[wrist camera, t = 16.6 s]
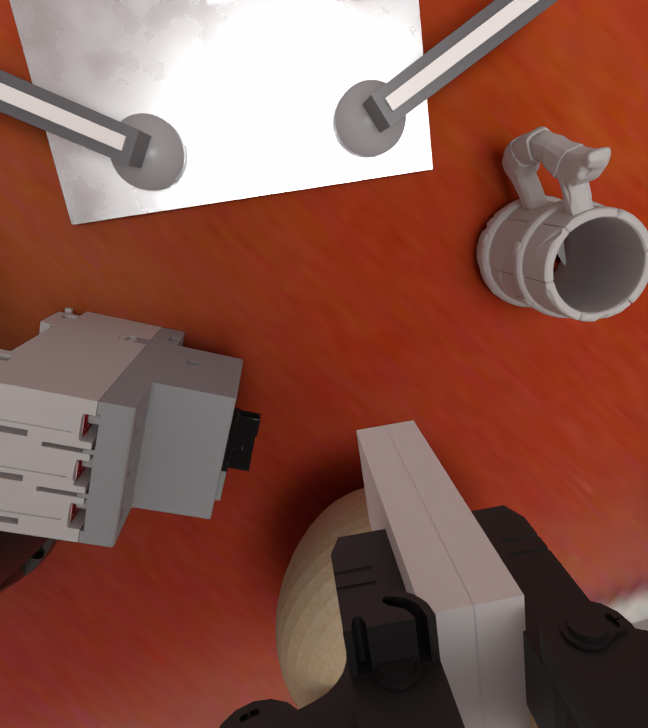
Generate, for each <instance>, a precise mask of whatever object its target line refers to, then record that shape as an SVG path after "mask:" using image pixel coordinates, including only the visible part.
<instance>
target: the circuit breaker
mask: <svg viewBox="0 0 648 728" xmlns="http://www.w3.org/2000/svg"><path fill="white" fill-rule="evenodd" d="M73 310H74V308H69V307H67V308H65V313H63V312H57V313H55V314H53V315H52V316H50V317H48V318H46V319H44V320H42V321H41V322H40V332H39V335H37V336H36V337H34V338H32V339H31V340H29V341H27V342H25V343H24V344H22V345H20V346H19V347H17V348H15V349H13V350H12V351H8V350H2V349H0V531H5V532H12V533H19V534H25V535H32V536H39V537H45V538H52V539H59V540H66V541H72V542H78V541H79V543H86V544H92V545H99V546H106V547H113V546H114V544H115V542H116V540H117V538H118V536H119V533H120V531H121V529H122V527H123V525H124V523H125V520H126V518H127V516H128V514H129V512H130V509H131V508H133V507H135V508H141V509H148V510H154V511H161V512H167V513H174V514H180V515H186V516H193V517H199V518H206V519H210V518H211V515H212V510H213V506H214V501H215V500H220V498H221V494H222V489H223V485H224V480H225V476H226V472H227V469H228V468H234V469H239V470H245V471H249V467H250V461H251V455H252V450H253V445H254V440H255V437H257V433H258V428H259V424H260V415H261V414H258V413H253V412H248V411H243V410H240V409H238V408H234V407H235V403H236V398H237V393H238V388H239V382H240V376H241V371H242V365H243V359H239V358H234V357H230V356H225V355H220V354H215V353H211V352H206V351H201V350H196V349H192V348H187V347H183V341H184V336H185V332H182V331H178V330H173V329H168V328H163V327H159V326H154V325H149V324H144V323H140V322H135V321H130V320H126V319H121V318H116V317H111V316H107V315H102V314H97V313H92V312H88V311H87V312H85V313H83V314H82V315H76V314H73ZM223 471H225V472H223Z"/></svg>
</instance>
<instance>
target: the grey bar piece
mask: <svg viewBox="0 0 648 728" xmlns="http://www.w3.org/2000/svg"><path fill="white" fill-rule="evenodd" d="M0 112H2V113H4V114H7V115H9V116H11V117H14V118H16V119H19V120H21V121H23V122H26V123H28V124H31V125H33V126H35V127H38V128H40V129H42V130H45V131H47V132H50V133H52V134H54V135H57V136H59V137H62V138H64V139H66V140H69V141H71V142H74V143H76V144H78V145H81V146H83V147H86V148H88V149H90V150H93V151H95V152H97V153H100V154H102V155H105V156H107V157H109V158H111V162H112V164H113V167H114V168H115V170H116V172H117V173H118V174H119V176H120V177H121V178H122V179H123V180H125V181H126V182H127V183H129V184H130V185H132V186H134V187H136V188H139V189H143V190H160V189H164V188H167V187H169V186H170V185H172V184H173V183H174V182H175V181H176V180H177V179H178V178H179V177H180V175H181V174H182V172H183V169H184V166H185V160H186V153H185V147H184V144H183V141H182V139H181V137H180V135H179V134H178V132H177V131H176V130H175V129H174V127H172V126H171V125H170V124H169V123H167V122H166V121H165V120H163V119H162V118H160V117H158V116H155V115H152V114H147V113H138V114H133V115H130V116H128V117H126V118H124V119H123V120H122V121H117V120H115V119H113V118H110V117H108V116H106V115H103V114H101V113H99V112H97V111H94V110H92V109H90V108H87V107H85V106H83V105H80V104H78V103H76V102H73V101H71V100H69V99H66V98H64V97H62V96H60V95H57V94H55V93H53V92H50V91H48V90H46V89H43V88H41V87H39V86H36V85H34V84H32V83H29V82H27V81H25V80H23V79H20V78H18V77H16V76H13V75H11V74H9V73H6V72H4V71H2V70H0Z"/></svg>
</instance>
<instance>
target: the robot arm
mask: <svg viewBox="0 0 648 728" xmlns="http://www.w3.org/2000/svg"><path fill="white" fill-rule="evenodd" d="M356 431H357V439H358V446H359V453H360V460H361V467H362V474H363V481H364V488H365V495H366V502H367V509H368V516H369V522H370V526H371V529H372V531H370V532H365V533H359V534H354V535H348V536H343V537H338V539H337V541H336V543H335V546H334V548H333V550H332V553H331V560H332V566H333V572H334V578H335V585H336V591H337V597H338V603H339V609H340V615H341V621H342V627H343V637H344V643H345V649H346V664H345V667H344V671H343V673H342V675H341V676H340V678H339V680H338V681H337V683H336V684H335V685H334V686H333V687H332V688H331V689H330V690H329V691H328V692H327V693H326V694H324V695H323V696H321V697H320V698H319V699H317V700H316V701H314V702H312V703H310V704H308V705H306V706H304V707H302V708H300V709H299V710H297V709H296V708H294V707H293V706H292V705H290V704H289V703H288V702H283V701H278V700H274V699H267V700H261V701H255V702H252V703H250V704H248V705H246V706H244V707H242V708H240V709H238V710H236V711H235V712H234V713H233V714H232V715H231V716H229V717H228V718H227V719H226V720H225V721H224V722H223V723H222V724H221V726H220V727H219V728H530V712H531V714H532V716H533V718H534V720H535V722H536V724H537V726H538V728H648V631H646V630H640V629H637V628H635V627H634V626H633V625H632V624H631V623H630V622H629V621H628V620H627V619H625V618H624V617H623V616H622V615H621V614H620V613H619V612H617V611H615V610H613V609H611V608H609V607H607V606H605V605H603V604H601V603H596V602H592V601H590V600H589V599H588V598H587V596H586V595H585V594H584V593H583V591H582V590H581V589H580V588H579V586H578V585H577V584H576V582H575V581H574V580H573V579H572V577H571V576H570V575H569V574H568V572H567V571H566V570H565V568H564V567H563V566H562V565H561V563H560V562H559V561H558V560H557V558H556V557H555V556H554V555H553V553H552V552H551V551H550V550H548V547H547V546H546V544H545V543H544V542H543V541H542V539H541V538H540V537H538V536H537V533H536V532H535V530H534V529H533V528H532V527H531V525H530V524H529V523H528V522H527V520H526V519H525V518H524V517H523V516H521V515H519V514H518V513H516V512H514V511H512V510H511V509H509V508H507V507H506V506H504V505H503V506H498V507H492V508H487V509H481V510H476V511H470V509H469V508H468V506H467V504H466V503H465V501H464V500H463V498H462V496H461V495H460V493H459V492H458V490H457V489H456V487H455V485H454V484H453V482H452V481H451V479H450V478H449V476H448V474H447V473H446V471H445V470H444V468H443V466H442V465H441V463H440V462H439V460H438V459H437V457H436V455H435V454H434V452H433V451H432V449H431V448H430V446H429V444H428V443H427V441H426V440H425V438H424V436H423V435H422V433H421V432H420V430H419V429H418V427H417V425H416V424H415V422H414V421H407V422H401V423H395V424H390V425H384V426H378V427H373V428H367V429H361V430H356ZM57 541H58V539H52V538H45V537H39V536H32V535H25V534H19V533H12V532H5V531H0V593H1V592H2V591H4V590H5V589H7V588H8V587H10V586H11V585H13V584H14V583H16V582H17V581H19V580H20V579H22V578H23V577H25V576H26V575H27V574H29V573H30V572H31V571H33V570H34V569H35V568H36V567H37V566H38V565H39V564H40V563H41V562H42V561H43V560H44V559H45V558H46V557H47V555H48V554H49V553H50V551H51V550H52V549H53V547H54V545H55V544H56V542H57ZM529 710H530V711H529Z"/></svg>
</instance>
